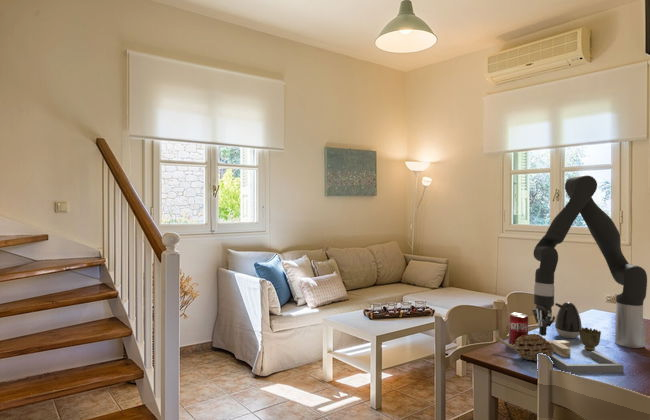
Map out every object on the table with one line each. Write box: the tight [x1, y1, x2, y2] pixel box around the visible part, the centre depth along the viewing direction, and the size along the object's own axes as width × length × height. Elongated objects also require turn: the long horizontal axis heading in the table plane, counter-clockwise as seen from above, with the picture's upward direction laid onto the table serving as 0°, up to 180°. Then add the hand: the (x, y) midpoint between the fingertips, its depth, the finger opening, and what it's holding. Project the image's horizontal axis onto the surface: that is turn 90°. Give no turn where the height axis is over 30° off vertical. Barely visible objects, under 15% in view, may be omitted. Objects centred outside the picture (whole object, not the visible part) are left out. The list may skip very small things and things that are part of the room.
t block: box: [546, 339, 571, 358], centre depth 168 cm, size 12×10×3 cm
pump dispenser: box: [554, 301, 583, 340], centre depth 187 cm, size 10×10×15 cm
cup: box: [579, 326, 602, 352], centre depth 170 cm, size 8×7×8 cm
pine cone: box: [495, 333, 555, 362], centre depth 160 cm, size 22×10×10 cm, turn 45°
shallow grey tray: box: [550, 350, 625, 374], centre depth 154 cm, size 20×14×2 cm
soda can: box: [508, 312, 529, 345], centre depth 177 cm, size 7×7×12 cm
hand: (542, 335), depth 178 cm, fingers closed
